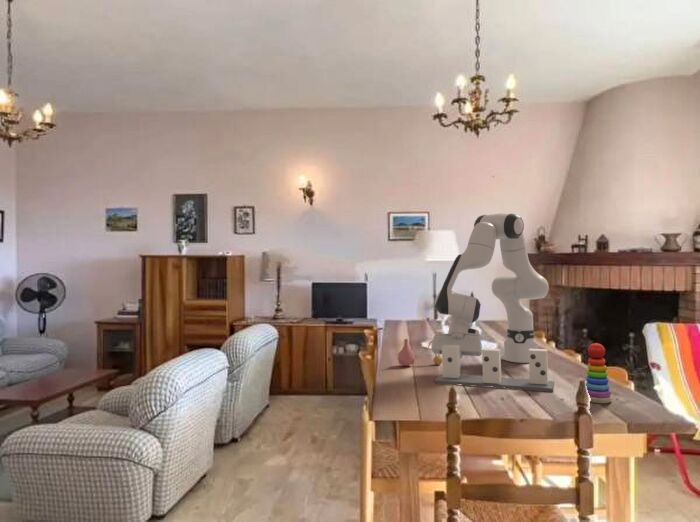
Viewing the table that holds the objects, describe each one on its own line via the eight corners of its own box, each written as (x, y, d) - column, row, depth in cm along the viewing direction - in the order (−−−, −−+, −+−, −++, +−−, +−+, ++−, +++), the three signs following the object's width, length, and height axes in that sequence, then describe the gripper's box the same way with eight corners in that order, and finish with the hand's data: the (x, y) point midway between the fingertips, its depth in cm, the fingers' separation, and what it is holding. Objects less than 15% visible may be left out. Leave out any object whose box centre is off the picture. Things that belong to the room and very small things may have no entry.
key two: (484, 380, 192) (483, 348, 192) (501, 381, 190) (500, 348, 190) (482, 382, 189) (481, 350, 189) (499, 383, 186) (498, 350, 186)
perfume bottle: (394, 365, 230) (394, 339, 230) (408, 363, 234) (408, 337, 234) (404, 368, 223) (403, 341, 223) (418, 366, 227) (417, 339, 227)
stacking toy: (581, 397, 170) (579, 341, 171) (606, 397, 170) (604, 341, 170) (589, 404, 163) (588, 345, 163) (616, 404, 162) (614, 344, 162)
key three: (530, 380, 189) (529, 348, 189) (548, 382, 187) (547, 349, 187) (529, 383, 185) (528, 350, 185) (547, 384, 183) (546, 351, 183)
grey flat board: (442, 376, 206) (442, 373, 206) (554, 384, 189) (554, 381, 189) (434, 383, 196) (434, 380, 196) (552, 392, 178) (552, 388, 178)
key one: (445, 375, 202) (444, 344, 202) (460, 376, 200) (459, 345, 200) (442, 377, 199) (441, 346, 199) (457, 378, 196) (457, 347, 196)
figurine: (428, 365, 228) (428, 338, 228) (427, 363, 234) (427, 336, 234) (447, 365, 227) (447, 338, 227) (446, 362, 233) (445, 336, 233)
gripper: (432, 329, 215) (427, 356, 206) (482, 330, 207) (478, 359, 198) (435, 338, 219) (430, 365, 211) (484, 340, 211) (480, 368, 202)
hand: (454, 362), depth 204 cm, fingers closed
